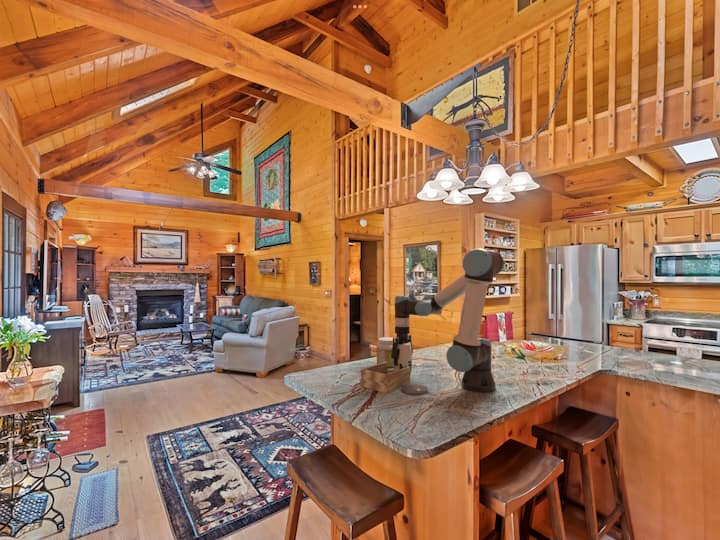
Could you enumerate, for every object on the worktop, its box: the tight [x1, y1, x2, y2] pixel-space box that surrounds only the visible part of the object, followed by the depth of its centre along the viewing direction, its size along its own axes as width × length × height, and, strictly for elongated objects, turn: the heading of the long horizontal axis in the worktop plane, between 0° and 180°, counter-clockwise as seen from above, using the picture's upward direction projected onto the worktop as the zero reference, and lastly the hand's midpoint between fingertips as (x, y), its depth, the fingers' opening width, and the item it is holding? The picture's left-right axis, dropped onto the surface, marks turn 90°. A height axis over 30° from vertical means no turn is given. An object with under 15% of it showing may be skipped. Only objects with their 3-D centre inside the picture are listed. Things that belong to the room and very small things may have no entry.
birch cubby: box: [360, 362, 411, 394], centre depth 168 cm, size 15×20×8 cm
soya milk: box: [397, 341, 413, 376], centre depth 178 cm, size 9×9×20 cm
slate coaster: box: [400, 383, 429, 396], centre depth 159 cm, size 12×12×1 cm
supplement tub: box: [376, 336, 394, 372], centre depth 197 cm, size 12×12×17 cm
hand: (402, 369), depth 178 cm, fingers closed on soya milk, 9 cm apart
